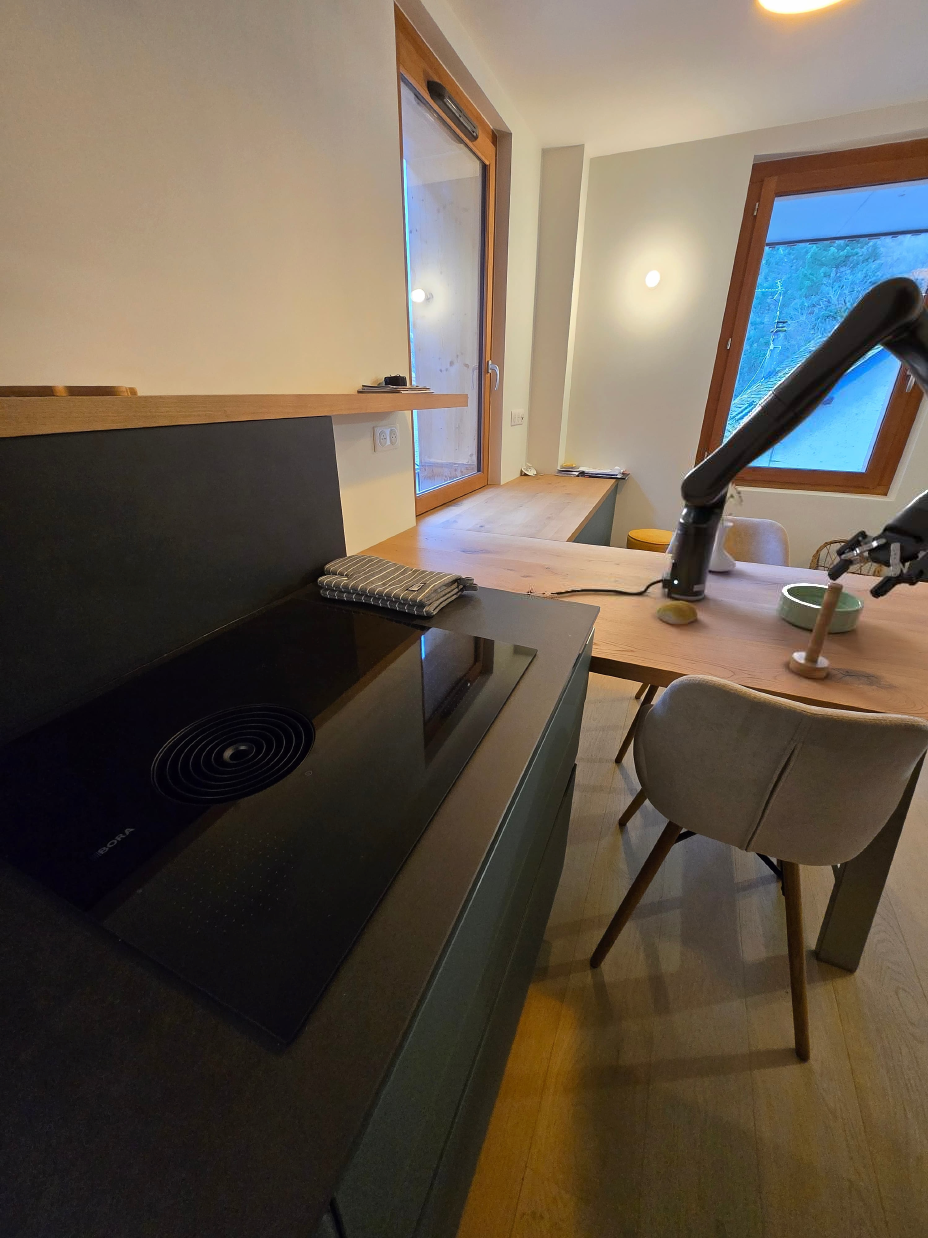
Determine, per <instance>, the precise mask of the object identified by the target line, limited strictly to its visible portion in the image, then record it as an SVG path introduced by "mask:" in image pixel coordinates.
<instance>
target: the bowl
mask: <svg viewBox="0 0 928 1238" xmlns="http://www.w3.org/2000/svg"><path fill="white" fill-rule="evenodd" d="M827 587H828V585H827V586H826V585H820V584H811V583H794V584H789V585H788V584H787V586H785V587H783V588H782V591H781V594H780V598H779V602H778V605H777V607H776V612H777V614H778V615H779V616H780V617H782V618H783V619H784V620H785V621H786V622H788V623H790V624H792V625H793V626H795V627H798V628H801V629H806V630H808V631H813V630H814V627H815V623H816V620H817V617H818V614H819V611H820V608H821V605H822V602H823V599H824V596H825V593H826V590H827ZM864 607H865V601H864V600H862V599H861V598H860V597H859V596H856V595H855V594H853V593H851V592H848V591H845V590H843V589H842V592H841V595H840V598H839V601H838V603H837V606H836V609H835V612H834V615H833V618H832V621H831V624H830V627H829V630H828V633H830V634H837V633H845V632H849V631H853V630H854V629H856V628H857V626H858V624H859V621H860V619H861V616H862V614H863V613H862V612H863V611H864ZM828 633H827V634H828Z"/></svg>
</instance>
